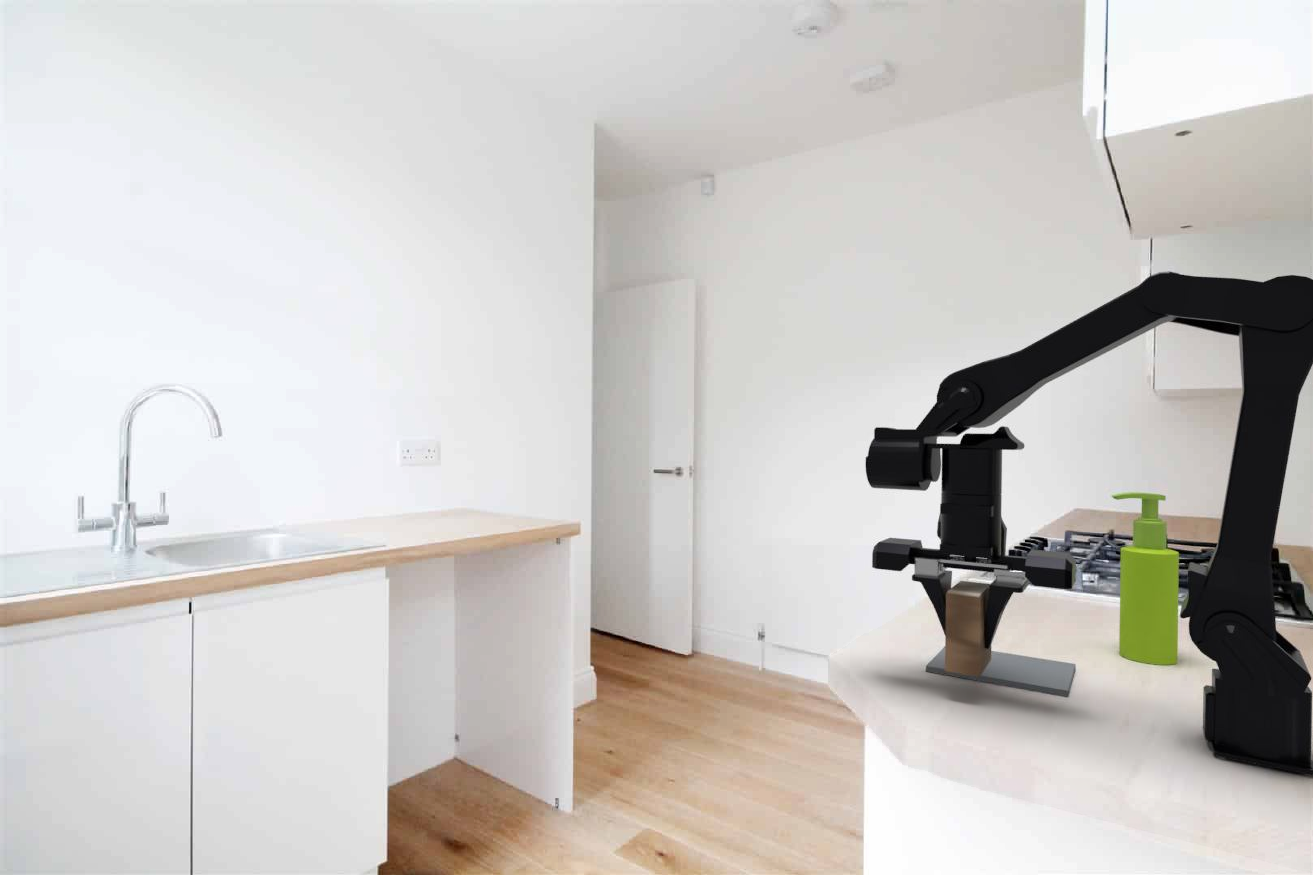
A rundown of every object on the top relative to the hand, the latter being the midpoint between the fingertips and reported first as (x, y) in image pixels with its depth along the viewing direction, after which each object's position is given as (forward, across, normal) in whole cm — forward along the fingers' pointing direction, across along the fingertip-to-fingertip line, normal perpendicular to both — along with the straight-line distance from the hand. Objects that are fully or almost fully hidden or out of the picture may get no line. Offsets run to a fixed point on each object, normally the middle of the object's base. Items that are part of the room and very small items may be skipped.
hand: (969, 644), depth 76 cm
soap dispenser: (+5, -15, -26) cm, 31 cm away
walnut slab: (+2, 0, 0) cm, 2 cm away
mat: (+5, -2, -10) cm, 12 cm away
